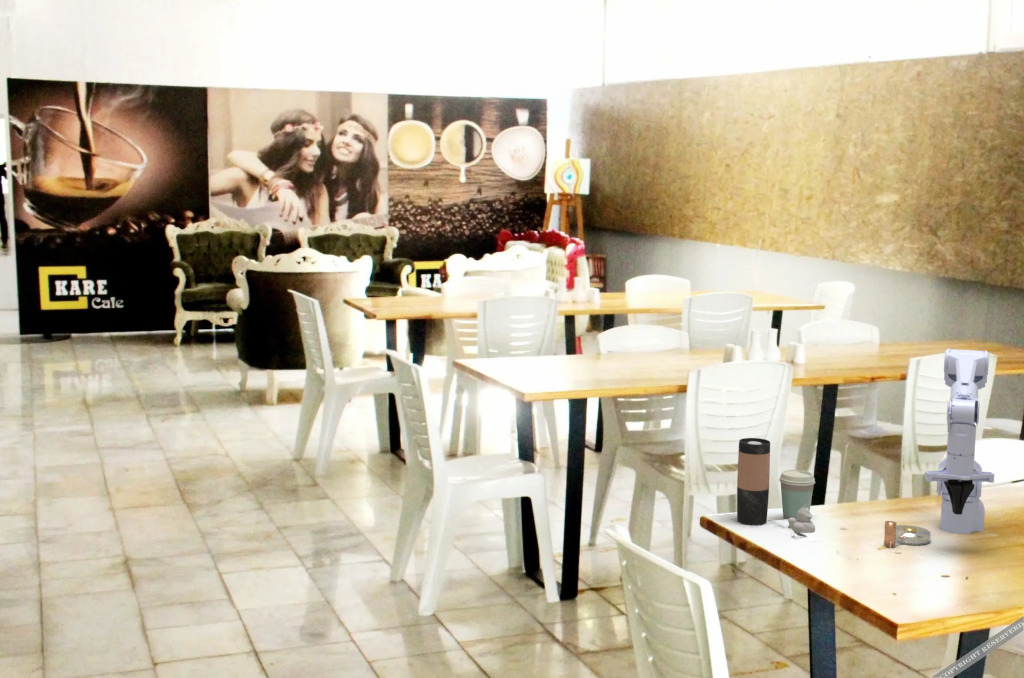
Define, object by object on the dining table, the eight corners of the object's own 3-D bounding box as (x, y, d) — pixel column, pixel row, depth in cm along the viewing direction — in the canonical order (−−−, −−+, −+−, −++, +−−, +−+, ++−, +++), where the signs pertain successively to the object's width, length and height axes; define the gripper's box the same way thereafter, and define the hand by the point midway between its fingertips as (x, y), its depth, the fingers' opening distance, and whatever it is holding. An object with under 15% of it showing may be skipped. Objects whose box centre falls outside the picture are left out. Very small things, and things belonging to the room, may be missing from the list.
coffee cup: (814, 527, 283) (816, 478, 282) (778, 525, 285) (779, 476, 283) (812, 517, 292) (814, 470, 290) (777, 515, 293) (779, 468, 292)
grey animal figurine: (809, 540, 273) (810, 507, 272) (782, 535, 277) (784, 502, 276) (818, 535, 277) (820, 502, 276) (792, 530, 281) (793, 497, 280)
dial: (902, 531, 275) (903, 508, 275) (937, 540, 269) (939, 516, 268) (868, 542, 267) (870, 518, 266) (904, 552, 260) (905, 528, 259)
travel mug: (774, 522, 287) (777, 442, 284) (752, 527, 283) (755, 446, 280) (751, 515, 293) (753, 436, 290) (729, 520, 289) (731, 440, 286)
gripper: (933, 457, 255) (929, 517, 257) (1001, 457, 254) (997, 518, 256) (922, 449, 262) (919, 508, 264) (988, 450, 261) (985, 509, 263)
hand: (957, 513), depth 260 cm, fingers closed
